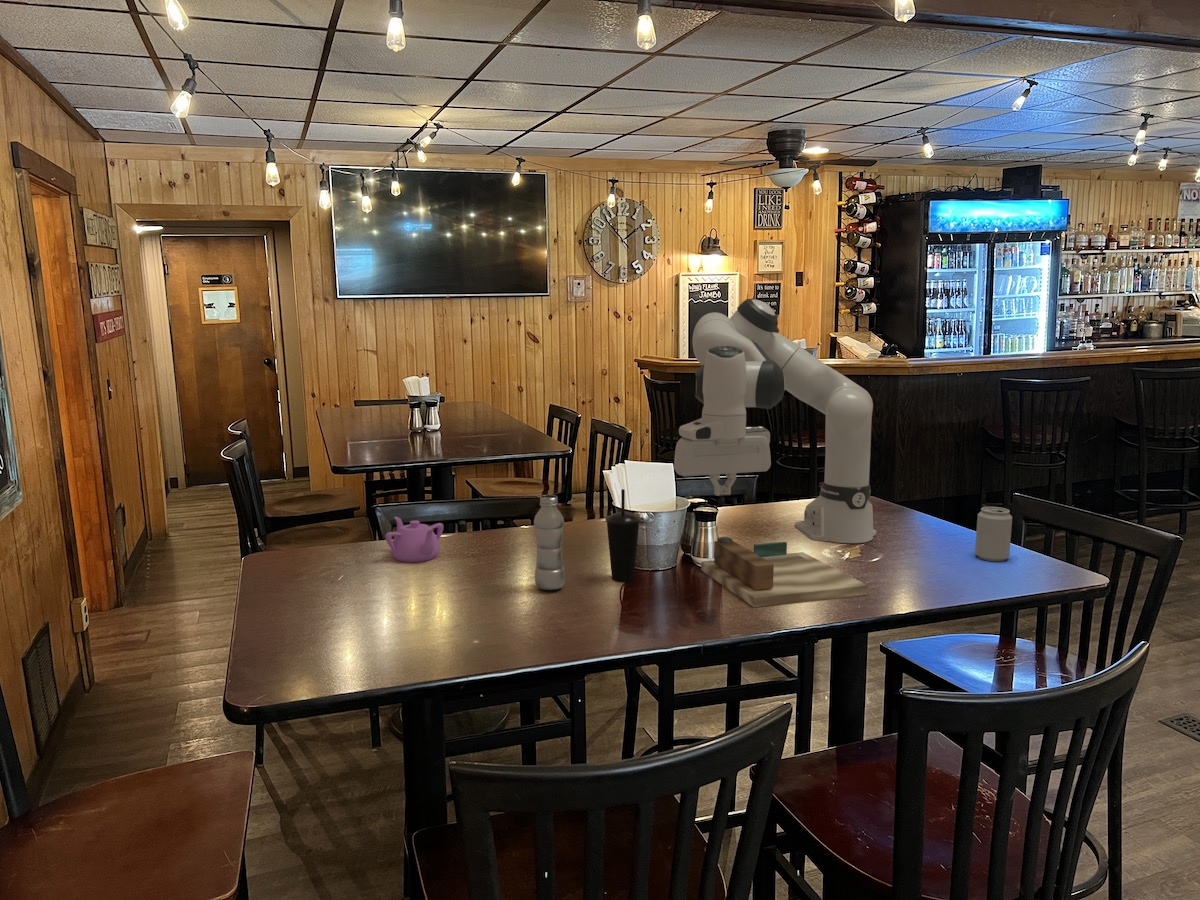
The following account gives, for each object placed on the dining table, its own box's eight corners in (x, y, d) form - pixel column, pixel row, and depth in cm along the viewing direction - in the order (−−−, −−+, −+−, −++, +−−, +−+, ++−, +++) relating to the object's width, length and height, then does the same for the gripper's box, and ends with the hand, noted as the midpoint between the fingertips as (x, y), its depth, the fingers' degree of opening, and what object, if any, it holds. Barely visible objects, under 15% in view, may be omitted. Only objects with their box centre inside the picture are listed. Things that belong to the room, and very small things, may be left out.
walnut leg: (713, 561, 196) (713, 537, 195) (729, 560, 197) (729, 536, 196) (755, 590, 177) (756, 563, 176) (773, 588, 178) (773, 561, 177)
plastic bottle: (542, 595, 180) (541, 501, 177) (529, 586, 186) (528, 495, 183) (570, 590, 183) (569, 498, 180) (557, 582, 189) (556, 492, 186)
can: (1014, 562, 203) (1018, 512, 202) (982, 562, 204) (986, 512, 202) (1000, 553, 211) (1004, 505, 209) (969, 553, 211) (973, 505, 209)
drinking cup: (622, 571, 197) (622, 484, 194) (647, 578, 192) (648, 489, 188) (598, 578, 192) (598, 489, 189) (623, 586, 186) (623, 494, 183)
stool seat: (701, 570, 198) (701, 548, 197) (802, 560, 205) (803, 539, 204) (754, 607, 173) (754, 583, 172) (867, 594, 181) (868, 571, 180)
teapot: (434, 565, 202) (433, 528, 200) (377, 563, 204) (375, 526, 202) (450, 551, 214) (449, 516, 212) (396, 549, 215) (394, 514, 214)
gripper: (762, 423, 182) (761, 488, 184) (671, 427, 176) (670, 494, 178) (777, 427, 176) (775, 494, 178) (683, 432, 170) (682, 501, 172)
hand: (722, 494), depth 178 cm, fingers closed
